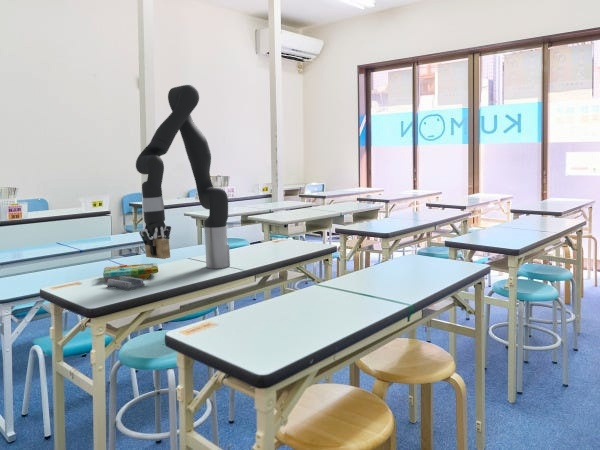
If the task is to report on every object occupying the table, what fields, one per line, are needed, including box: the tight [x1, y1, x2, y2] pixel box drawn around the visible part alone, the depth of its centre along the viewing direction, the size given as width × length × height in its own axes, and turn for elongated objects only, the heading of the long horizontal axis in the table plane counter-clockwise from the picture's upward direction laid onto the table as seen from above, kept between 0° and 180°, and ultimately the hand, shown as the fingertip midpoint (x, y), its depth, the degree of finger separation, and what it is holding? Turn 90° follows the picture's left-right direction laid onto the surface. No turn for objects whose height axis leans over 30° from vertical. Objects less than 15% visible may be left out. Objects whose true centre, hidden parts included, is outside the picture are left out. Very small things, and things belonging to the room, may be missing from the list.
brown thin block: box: [144, 238, 171, 260], centre depth 191 cm, size 10×3×7 cm, turn 56°
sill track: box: [106, 276, 145, 292], centre depth 186 cm, size 12×7×3 cm, turn 56°
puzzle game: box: [102, 262, 159, 283], centre depth 200 cm, size 12×5×20 cm
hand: (157, 254), depth 192 cm, fingers closed on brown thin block, 3 cm apart
